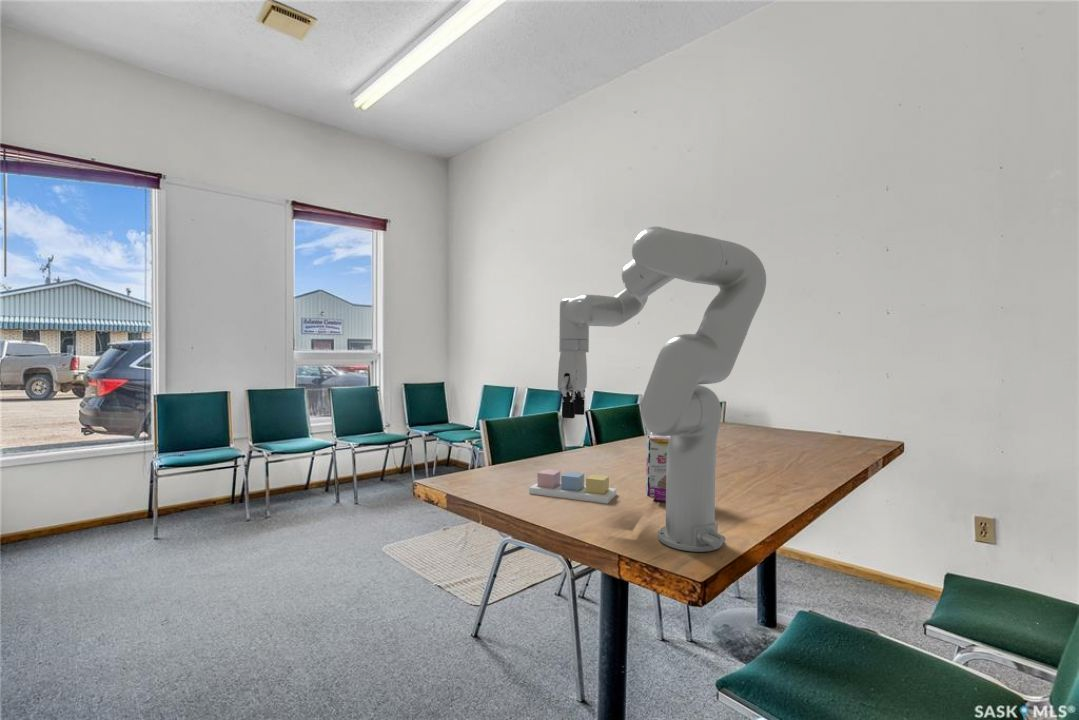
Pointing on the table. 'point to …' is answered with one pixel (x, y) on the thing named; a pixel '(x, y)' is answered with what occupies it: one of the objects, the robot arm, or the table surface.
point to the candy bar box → (656, 467)
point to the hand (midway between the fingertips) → (573, 415)
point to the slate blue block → (572, 481)
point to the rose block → (548, 479)
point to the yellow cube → (597, 484)
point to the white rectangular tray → (573, 494)
